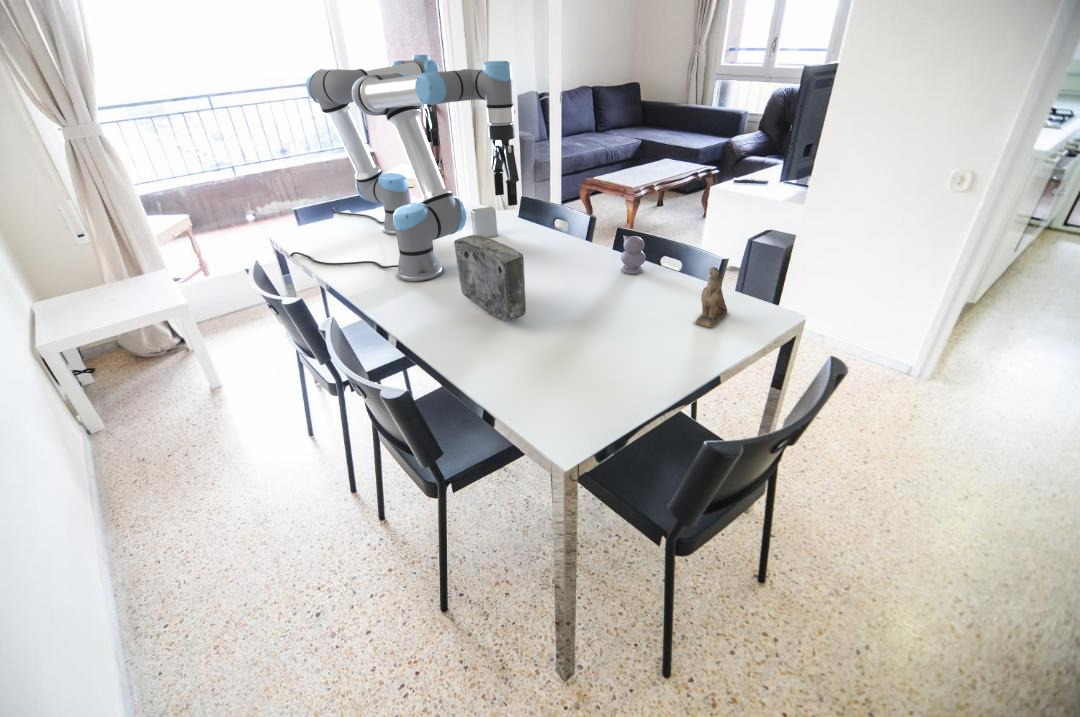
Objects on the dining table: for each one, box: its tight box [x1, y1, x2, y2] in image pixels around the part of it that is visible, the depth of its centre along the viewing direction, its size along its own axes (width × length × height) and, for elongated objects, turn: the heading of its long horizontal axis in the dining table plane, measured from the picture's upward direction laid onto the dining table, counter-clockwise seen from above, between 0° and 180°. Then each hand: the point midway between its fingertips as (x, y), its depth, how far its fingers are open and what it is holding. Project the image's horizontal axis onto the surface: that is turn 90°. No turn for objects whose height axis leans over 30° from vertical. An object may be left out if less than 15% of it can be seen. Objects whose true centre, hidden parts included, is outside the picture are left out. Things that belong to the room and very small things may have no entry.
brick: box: [470, 206, 498, 238], centre depth 208 cm, size 9×6×11 cm, turn 111°
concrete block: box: [453, 234, 527, 322], centre depth 143 cm, size 27×9×20 cm, turn 36°
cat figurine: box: [620, 234, 646, 275], centre depth 168 cm, size 9×8×12 cm
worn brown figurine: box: [695, 266, 728, 328], centre depth 135 cm, size 12×6×18 cm, turn 136°
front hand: (505, 199), depth 152 cm, fingers open, 13 cm apart
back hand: (433, 144), depth 239 cm, fingers open, 13 cm apart
